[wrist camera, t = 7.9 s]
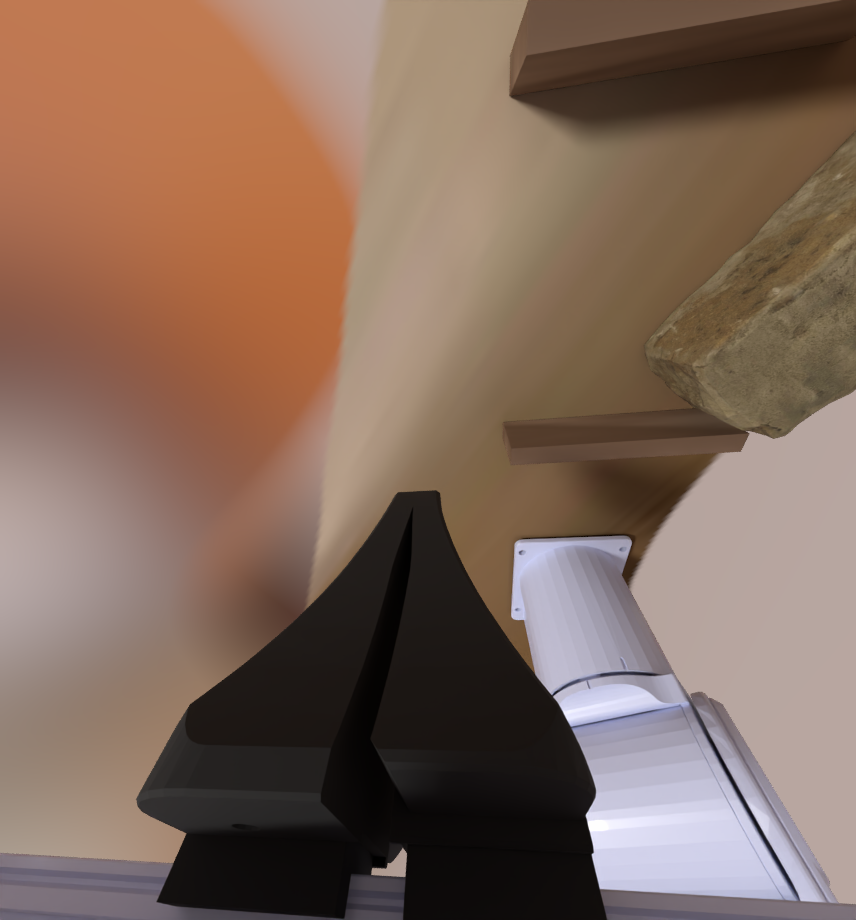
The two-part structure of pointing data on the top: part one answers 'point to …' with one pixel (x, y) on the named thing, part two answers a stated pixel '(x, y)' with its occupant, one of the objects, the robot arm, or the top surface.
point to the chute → (628, 54)
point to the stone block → (774, 315)
